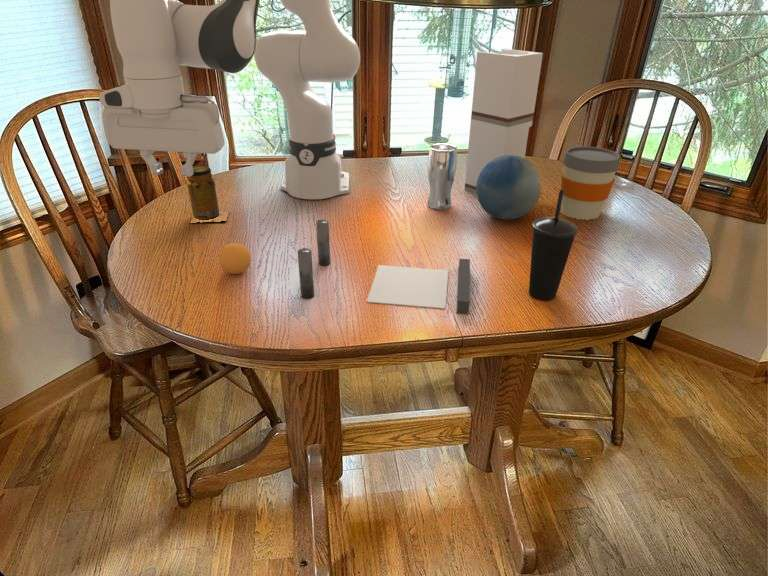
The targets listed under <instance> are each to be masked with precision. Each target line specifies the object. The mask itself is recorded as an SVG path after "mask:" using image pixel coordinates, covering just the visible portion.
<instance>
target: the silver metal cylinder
mask: <svg viewBox="0 0 768 576" xmlns="http://www.w3.org/2000/svg"><path fill="white" fill-rule="evenodd" d="M457 160H458V147H457V146H456V145H454V144H451V143H435V144H433V143H432V144H431V145H429V151H428V159H427V174H428V182H429V196H428V201H427V207H428V208H429V209H431V210H438V211H445V210H449V209H450V208H451V207H452V195H451V194H452V189H453V185H454V181H455V176H456V171H457V163H458V161H457Z"/></svg>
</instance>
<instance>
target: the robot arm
mask: <svg viewBox="0 0 768 576" xmlns="http://www.w3.org/2000/svg"><path fill="white" fill-rule="evenodd" d="M260 1H261V0H220V1H219V2H217V3H215V4H213V5H195V4H194V5H193V4H184V3H183V2H181V1H179V0H109V7H110V8H109V9H110V19H111V24H112V30H113V34H114V39H115V40H114V41H115V43H116V48H117V50H118V52H119V55H121V59H122V63H123V70H122V73H123V74H122V75H123V80H124V83H121V84H120V85H117V86H116V87H114V88H110V89H108V90H105V91H103V92H101V93H100V94H99V95H98V99H99V102H100V105H101V106H103V109H102V112H101V120H102V126H103V130H104V132H103V133H104V135H105V139H106V141H107V143H108V145H109V146H111V148H113V149H115V150H116V149H119V150H135V151H136V150H137V151H138V150H139V154H140V157H141V158H142V160H143V161H145V163H146V164H147V166H149V171H150V174H151V175H158V176H159V175H161V174H163V173H164V169H163V163H162V162H158V161H157V160H156V158H155V156H154V155H153V153H154V152H171V153H172V152H174V153H175V152H177V153H182V154H183V158H184V159H186V161H185V164H183V165H181V166H180V167H179V169H180V172H181V176H182V177H187V178H188V177H191V176H192V175H193V173H194V172H193V167H194V166H193V165H194V162H195V160H196V158H197V156H198V155H197V154H212V155H214V154H216V153H218V152H220V151H221V150H222V149H223V148H224V146H225V137H224V134H223V130H222V129H223V128H222V126H221V121H220V112H219V106H218V104H217V103H216V102H215V101H214V100H212V99H211V98H209V97H208V96H206V95H198V96H197V95H192V94H185V89H184V88H185V87H184V81H183V75H182V71H181V68H180V66H183V67H192V68H199V69H210V70H214V71H219V72H224V73H230V74H236V73H239V72H241V71H243V70H244V69H245V68H246V67H247V65H248V64H250V62H251V61H252V59H253V57H254V63H255V65H256V67H257V69H258V70H259V72H260V73H261V74H262V75H263V76H264V77H265V78H266V79H268V80H269V81H270V82H271V83H272V84H273V86H274V87H275V89H277V91H278V93H279V94H280V96H281V98H282V100H283V103H284V106H285V108H286V115H287V121H288V129H289V138H288V145H287V146H288V152H289V155H288V156H287V157H286V159H284V168H285V169H284V172H285V173H284V176H285V182H284V183H282V184H281V185H280V190H282V191H284V192H287V194H288V195H290V196H292V197H294V198H296V199H302V200H323V199H328V198H333V197H336V196H340V195H347V194H349V193H350V173H349V172H347V171H343V170H342V158H341V157H340V155H339V154H338V153H337V147H336V146H337V143H336V134H335V133H334V128H333V127H334V126H333V125H334V124H333V123H334V121H333V110H332V107H331V106H330V104H329V102H328V101H326V100H325V99H324V98H322V97H321V96H319V95H317V94H316V93H315V91H313V89H312V87H311V85H310V83H309V82H312V83H313V82H314V83H315V82H316V83H317V82H318V83H340V82H345V81H350V80H352V79H353V78H354V77H355V76H356V74H357V73H358V72H359V68H360V65H361V52H360V47H359V46H358V43H357V42H356V40H355V39H354V38H353V37H352V36H351V35H349V34H348V33H347V32H346V30H344V28H343V27H342V25H340V23H339V22H338V20H337V18H336V16H335V14H334V11H333V8H332V5H331V1H330V0H279V1H280V3H281V5H282V6H283V7H284V8H285V9H286V10H287V11H289V12H290V13H291V14H293V15H295V16H297V17H298V18H299V19H300V20H301V22H302V24H303V26H304V30H305V31H298V30H297V31H296V30H295V31H294V30H293V31H292V30H276V31H271V32H267V33H264V34H261V35H260V36H259V37H258V39H257V19H258V11H259V7H260Z"/></svg>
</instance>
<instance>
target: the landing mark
mask: <svg viewBox="0 0 768 576" xmlns="http://www.w3.org/2000/svg"><path fill="white" fill-rule="evenodd" d="M376 268H377V269H376V271H375V272H376V273H375V275H374V278H373V281H372V284H371V288H370V291H369V293H368V296H367V299H366V303H371V304H384V305H395V306H405V307H406V306H409V307H416V308H417V307H418V308H419V307H420V308H430V309H431V308H432V309H443V310H446V305H447V293H448V291H447V290H448V278H449V270H448V269H445V270H444V269H433V268H432V269H431V268H421V267H420V268H419V267H411V266H410V267H409V266H407V267H406V266H395V265H385V264H384V265H383V264H382V265H381V264H378V266H377V267H376Z"/></svg>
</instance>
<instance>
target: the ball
mask: <svg viewBox="0 0 768 576" xmlns="http://www.w3.org/2000/svg"><path fill="white" fill-rule="evenodd" d="M251 262H252V255H251V253H250V250H249V249H248V248H247V247H246V245H244V244H242V243H238V242H231V243H227V244H226V245H224V246H223V247H222V249H220V250H219V254H218V263H219V265H220V267H221V269H222V270H224V272H226V273H229V274H231V275H237V274H242V273H244V272H245V271H246V270H247V269H249V267H250V264H251Z"/></svg>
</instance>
